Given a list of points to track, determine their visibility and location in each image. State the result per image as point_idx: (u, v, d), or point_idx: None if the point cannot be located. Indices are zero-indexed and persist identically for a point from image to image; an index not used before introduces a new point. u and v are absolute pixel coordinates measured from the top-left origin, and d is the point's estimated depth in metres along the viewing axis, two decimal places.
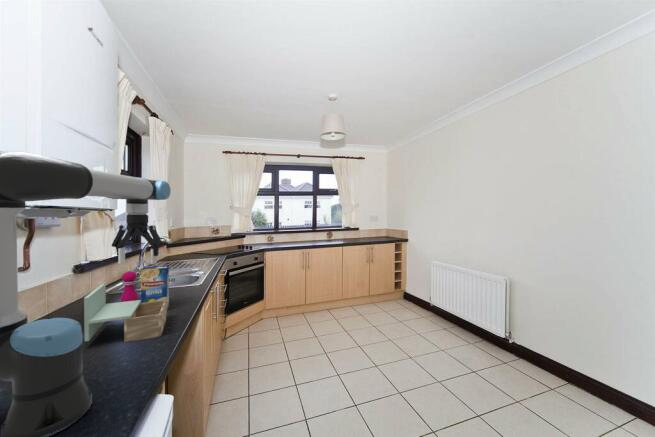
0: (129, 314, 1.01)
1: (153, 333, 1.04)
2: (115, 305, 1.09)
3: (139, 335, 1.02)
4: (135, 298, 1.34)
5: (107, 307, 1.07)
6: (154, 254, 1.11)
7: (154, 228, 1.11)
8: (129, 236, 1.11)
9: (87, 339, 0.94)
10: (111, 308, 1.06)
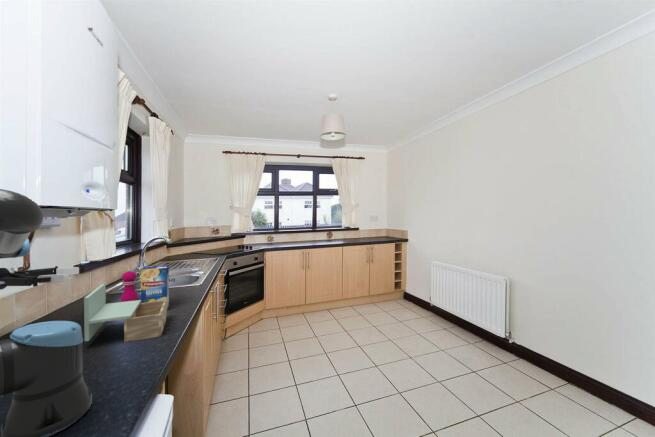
0: (129, 314, 1.01)
1: (153, 333, 1.04)
2: (115, 305, 1.09)
3: (139, 335, 1.02)
4: (135, 298, 1.34)
5: (107, 307, 1.07)
6: None
7: None
8: None
9: (87, 339, 0.94)
10: (111, 308, 1.06)
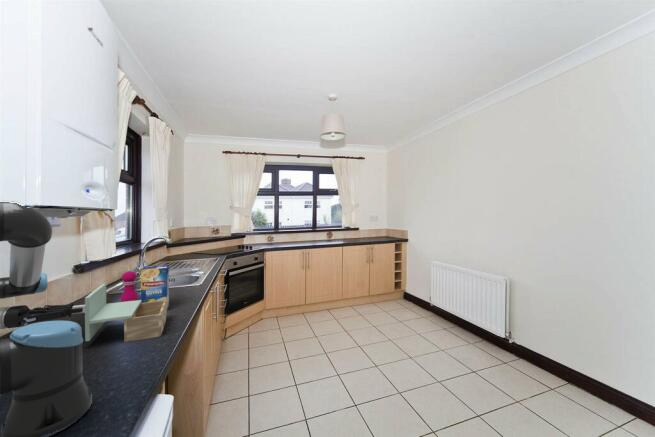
0: (130, 314, 1.01)
1: (153, 333, 1.04)
2: (116, 305, 1.09)
3: (139, 335, 1.02)
4: (135, 298, 1.34)
5: (108, 307, 1.07)
6: None
7: None
8: None
9: (88, 339, 0.94)
10: (112, 308, 1.06)
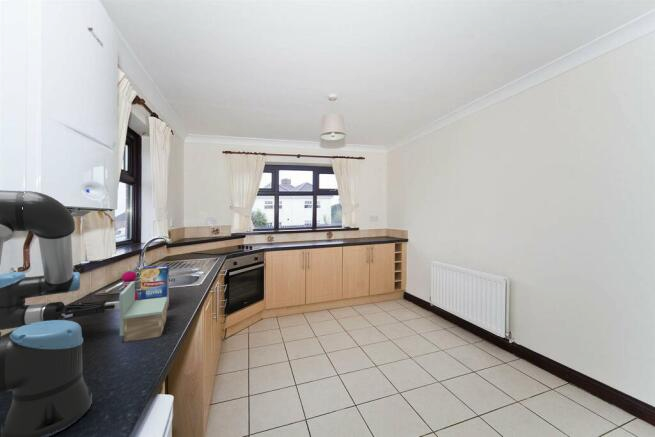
0: (160, 310, 1.05)
1: (153, 333, 1.04)
2: (144, 302, 1.14)
3: (139, 335, 1.02)
4: (135, 298, 1.34)
5: (137, 304, 1.12)
6: None
7: None
8: None
9: (122, 334, 0.99)
10: (141, 304, 1.11)
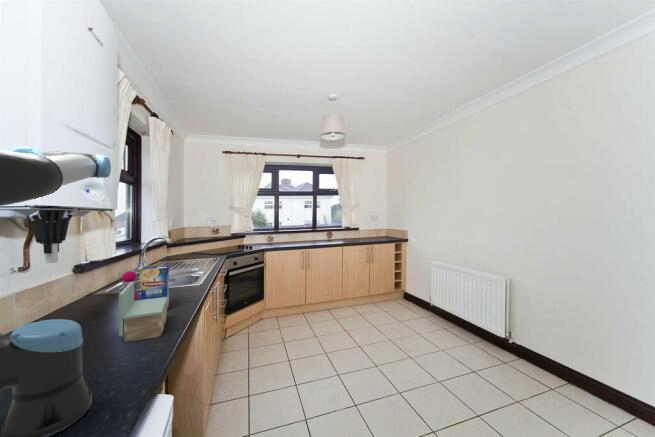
0: (159, 310, 1.05)
1: (153, 333, 1.04)
2: (144, 302, 1.13)
3: (139, 335, 1.02)
4: (135, 298, 1.34)
5: (137, 304, 1.12)
6: None
7: None
8: None
9: (121, 334, 0.99)
10: (141, 304, 1.11)
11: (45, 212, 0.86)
